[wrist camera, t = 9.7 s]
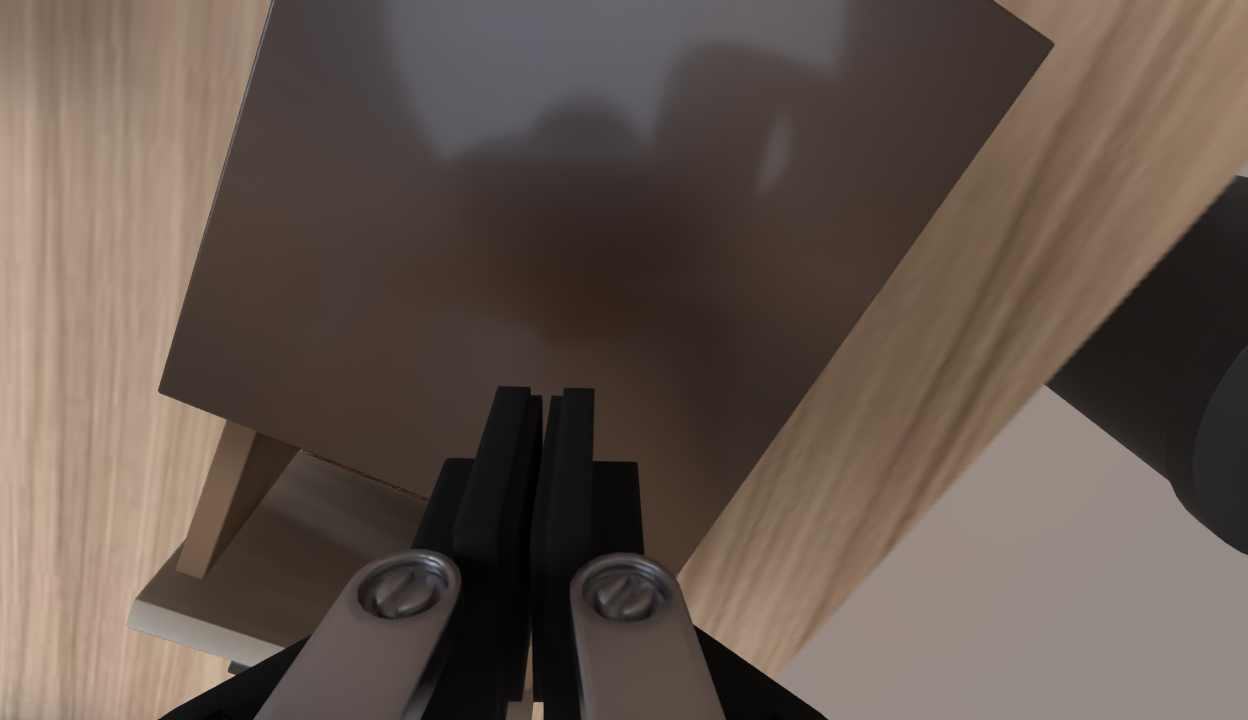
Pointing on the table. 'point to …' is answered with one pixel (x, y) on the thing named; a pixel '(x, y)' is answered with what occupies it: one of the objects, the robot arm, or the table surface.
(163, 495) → the table surface
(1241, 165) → the table surface
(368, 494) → the drawer
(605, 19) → the cabinet
